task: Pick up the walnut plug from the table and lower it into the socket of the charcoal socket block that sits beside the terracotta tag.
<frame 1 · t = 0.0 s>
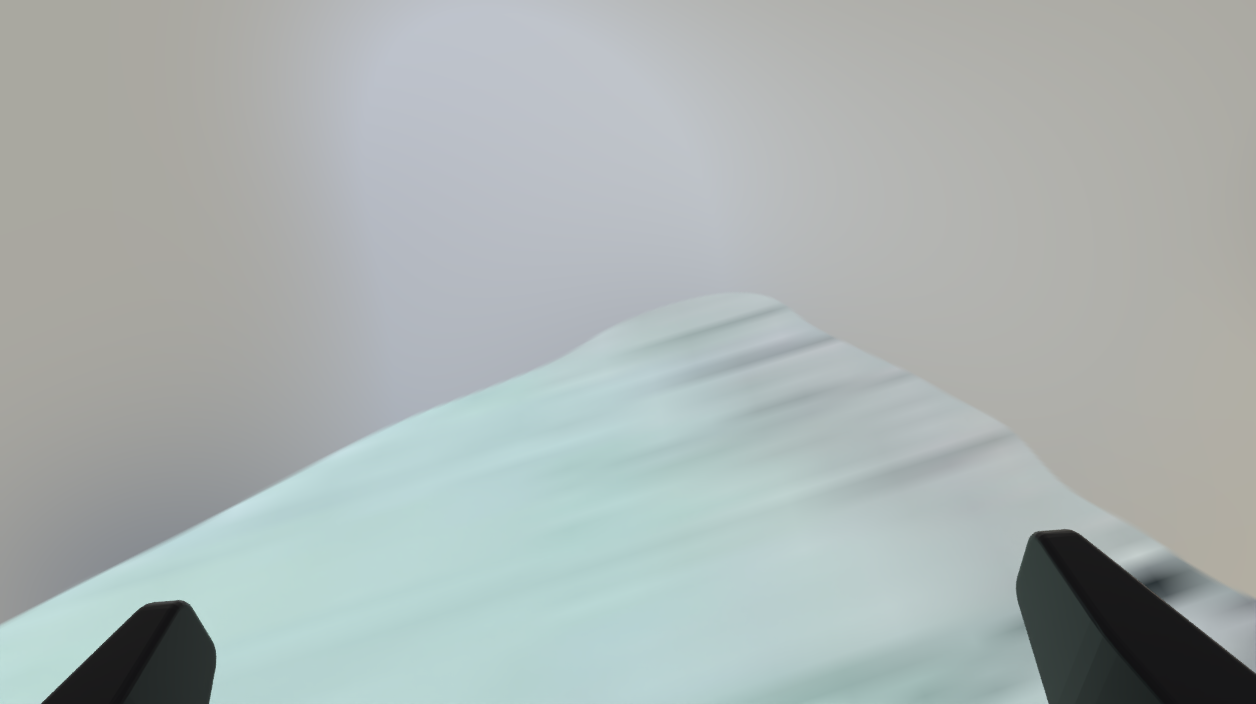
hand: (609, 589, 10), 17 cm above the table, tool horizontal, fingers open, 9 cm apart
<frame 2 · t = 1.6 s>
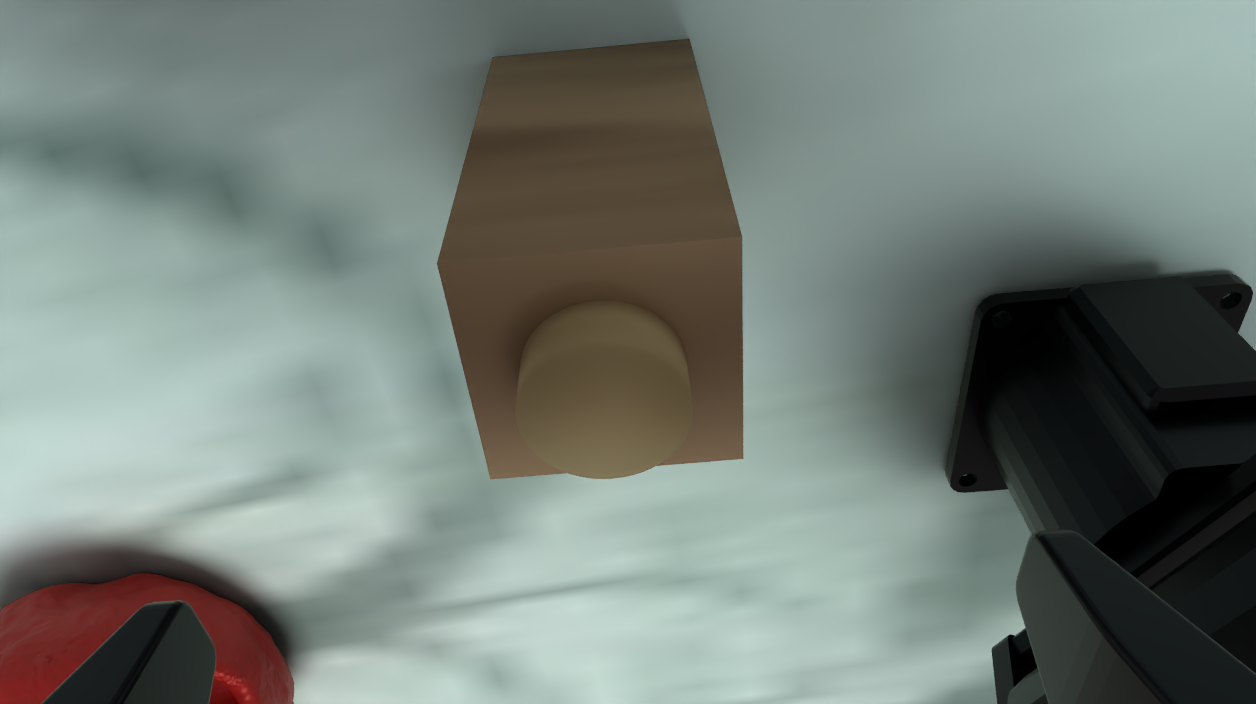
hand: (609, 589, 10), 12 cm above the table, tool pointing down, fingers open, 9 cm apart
walnut plug: (600, 140, 19), on the table
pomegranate: (168, 634, 29), on the table
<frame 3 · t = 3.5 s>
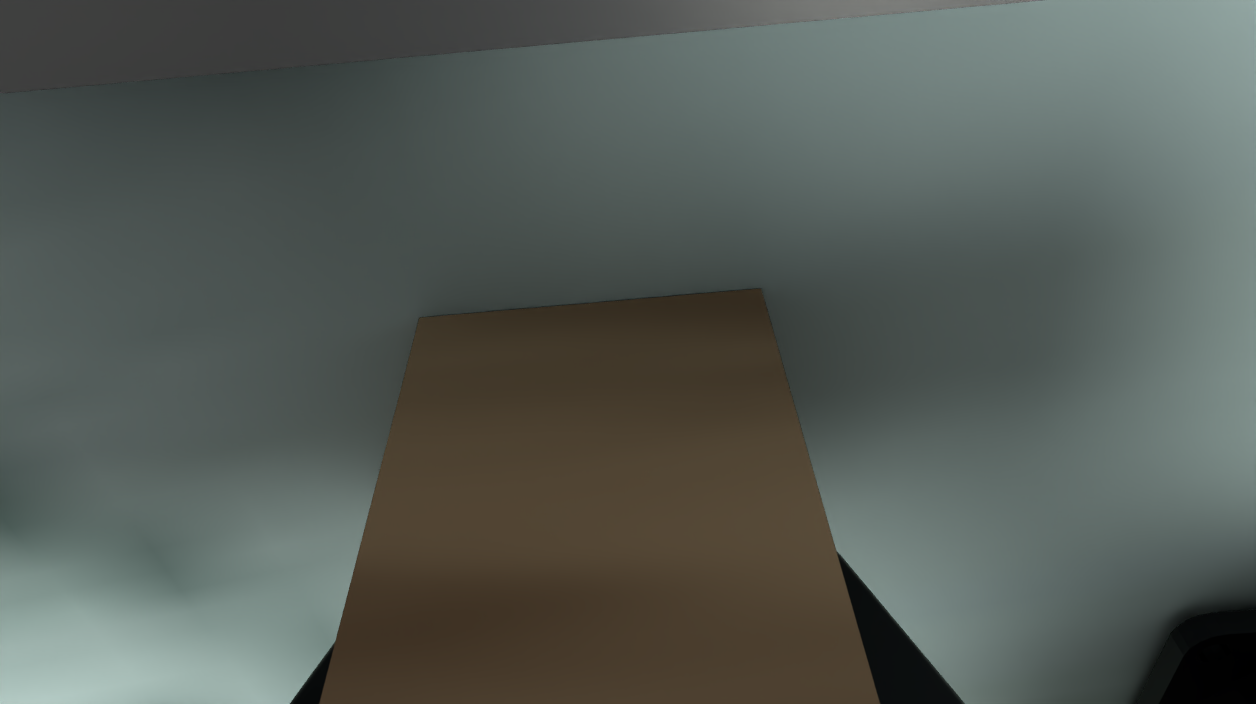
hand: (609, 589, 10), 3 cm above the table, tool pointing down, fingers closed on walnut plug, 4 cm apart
walnut plug: (605, 429, 12), on the table, touching gripper
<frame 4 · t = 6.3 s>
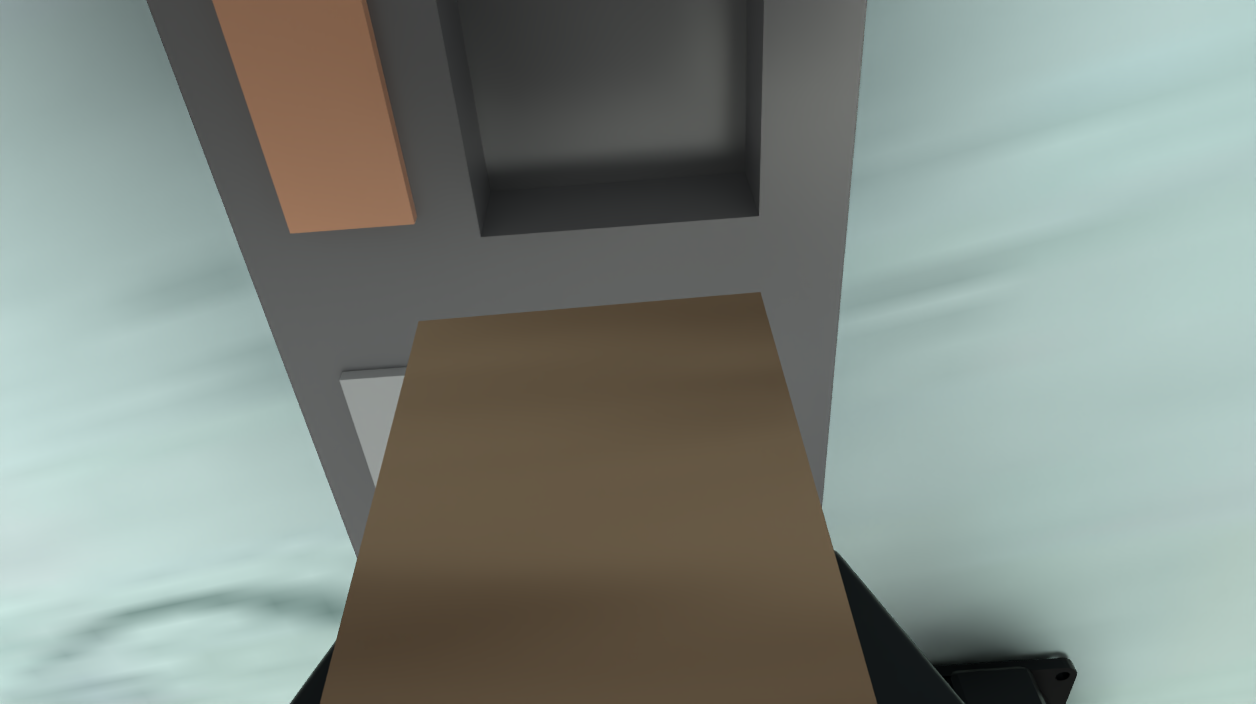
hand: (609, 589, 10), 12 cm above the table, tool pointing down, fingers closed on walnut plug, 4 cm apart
walnut plug: (604, 432, 12), point 10 cm above the table, touching gripper
socket block: (556, 216, 21), on the table
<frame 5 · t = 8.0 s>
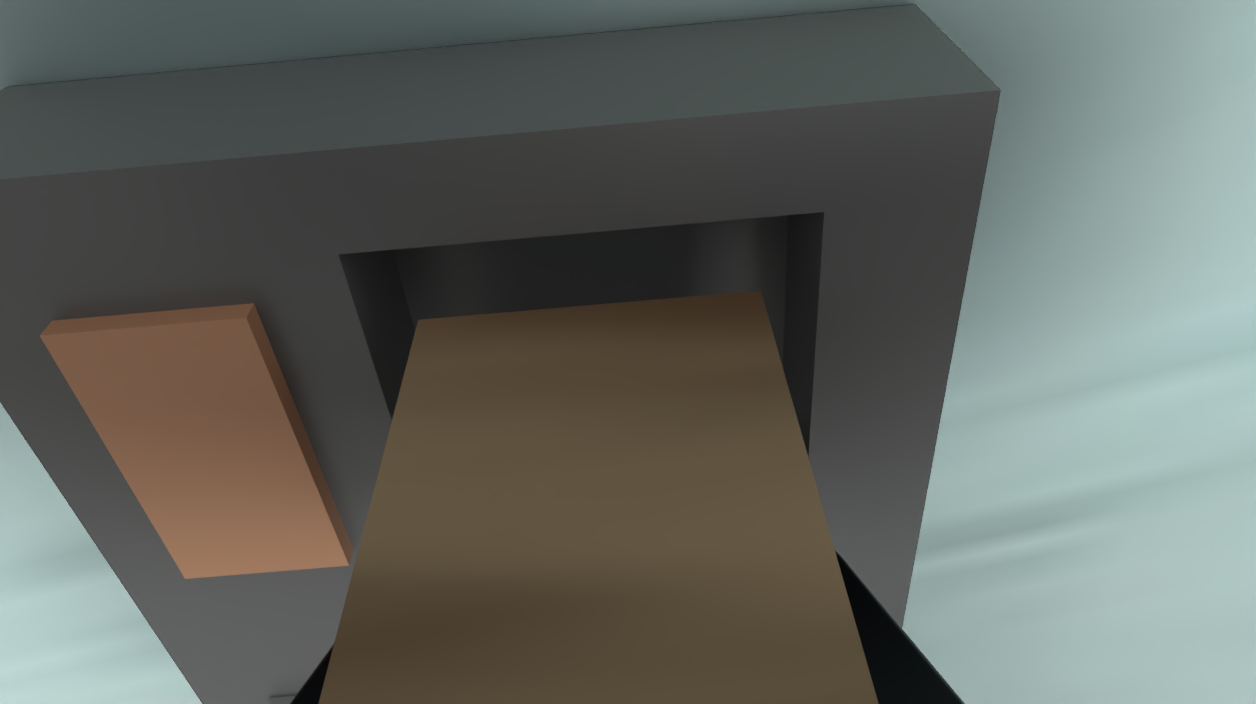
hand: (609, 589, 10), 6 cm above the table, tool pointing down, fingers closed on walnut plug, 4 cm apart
walnut plug: (604, 431, 12), point 3 cm above the table, touching gripper
socket block: (540, 476, 17), on the table
when the fingers open (4 cm above the table, at t = 9.2 s): walnut plug stays where it is, resting on socket block.
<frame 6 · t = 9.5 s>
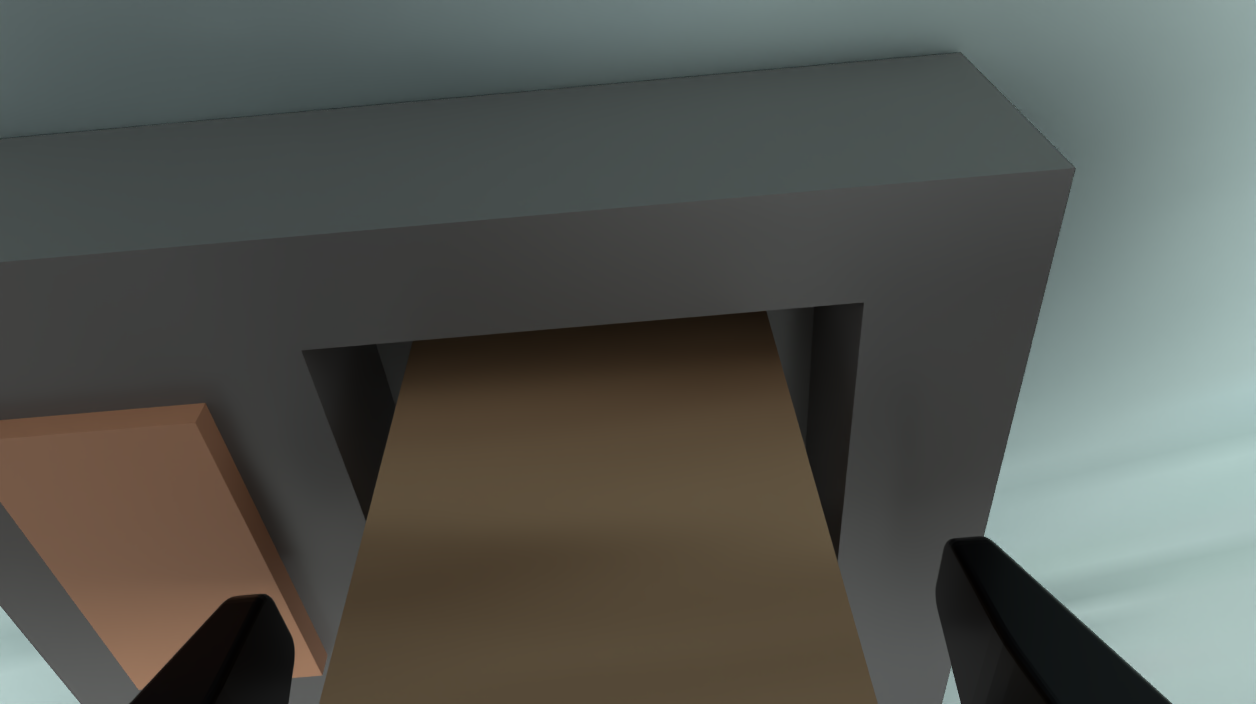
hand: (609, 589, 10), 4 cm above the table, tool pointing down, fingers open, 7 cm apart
walnut plug: (604, 407, 12), point 1 cm above the table, touching socket block
socket block: (537, 551, 15), on the table
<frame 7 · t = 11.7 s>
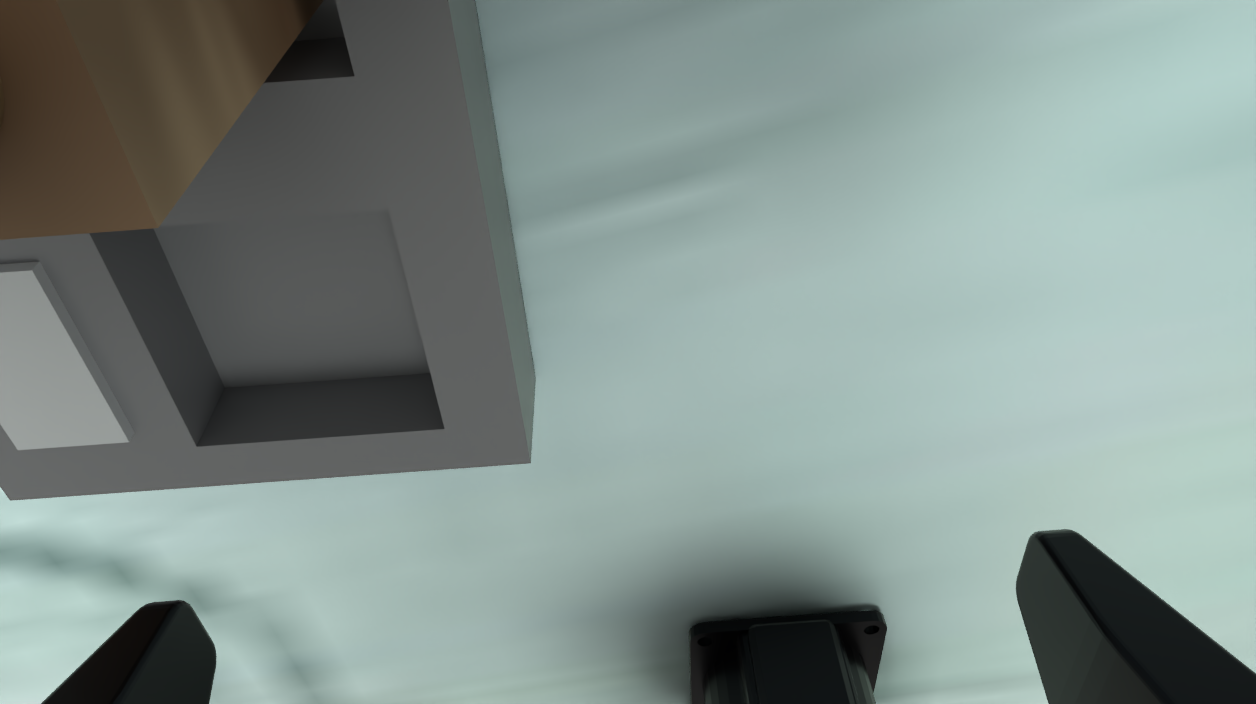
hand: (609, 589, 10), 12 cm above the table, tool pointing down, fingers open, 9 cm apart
socket block: (188, 96, 18), on the table
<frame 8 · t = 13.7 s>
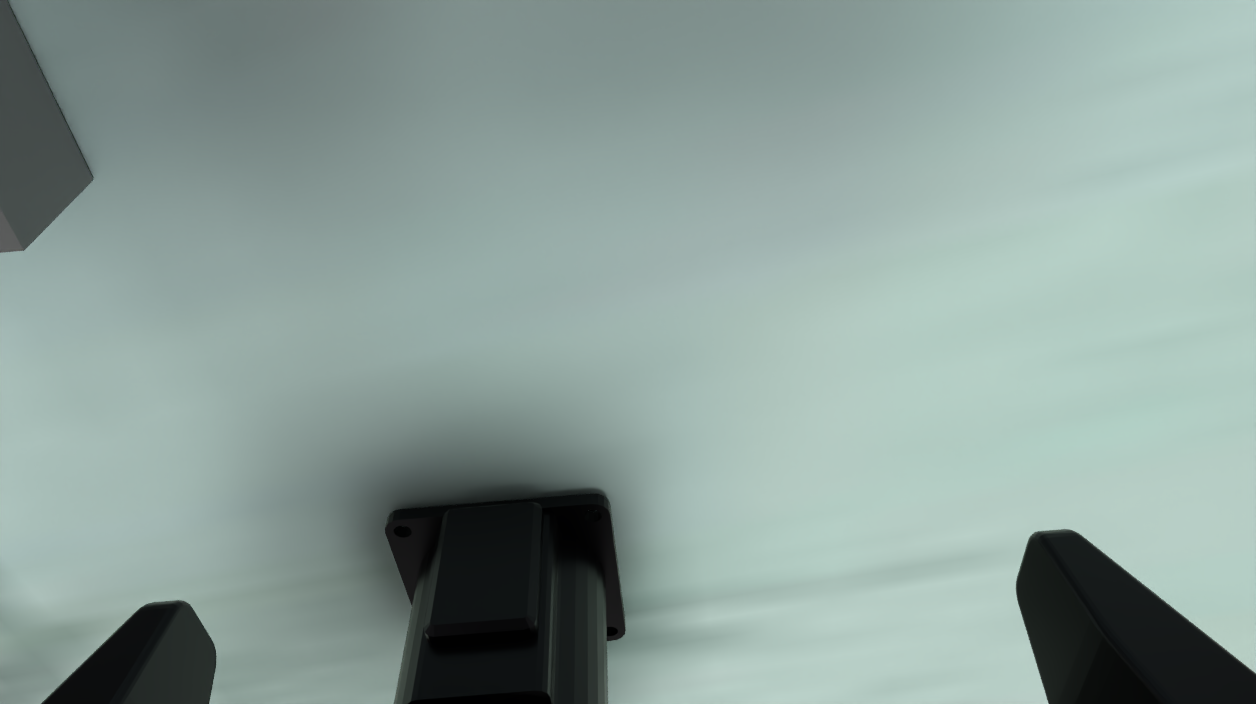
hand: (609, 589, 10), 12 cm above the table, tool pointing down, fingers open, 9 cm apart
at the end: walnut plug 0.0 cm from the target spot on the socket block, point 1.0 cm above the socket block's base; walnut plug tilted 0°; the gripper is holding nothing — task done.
